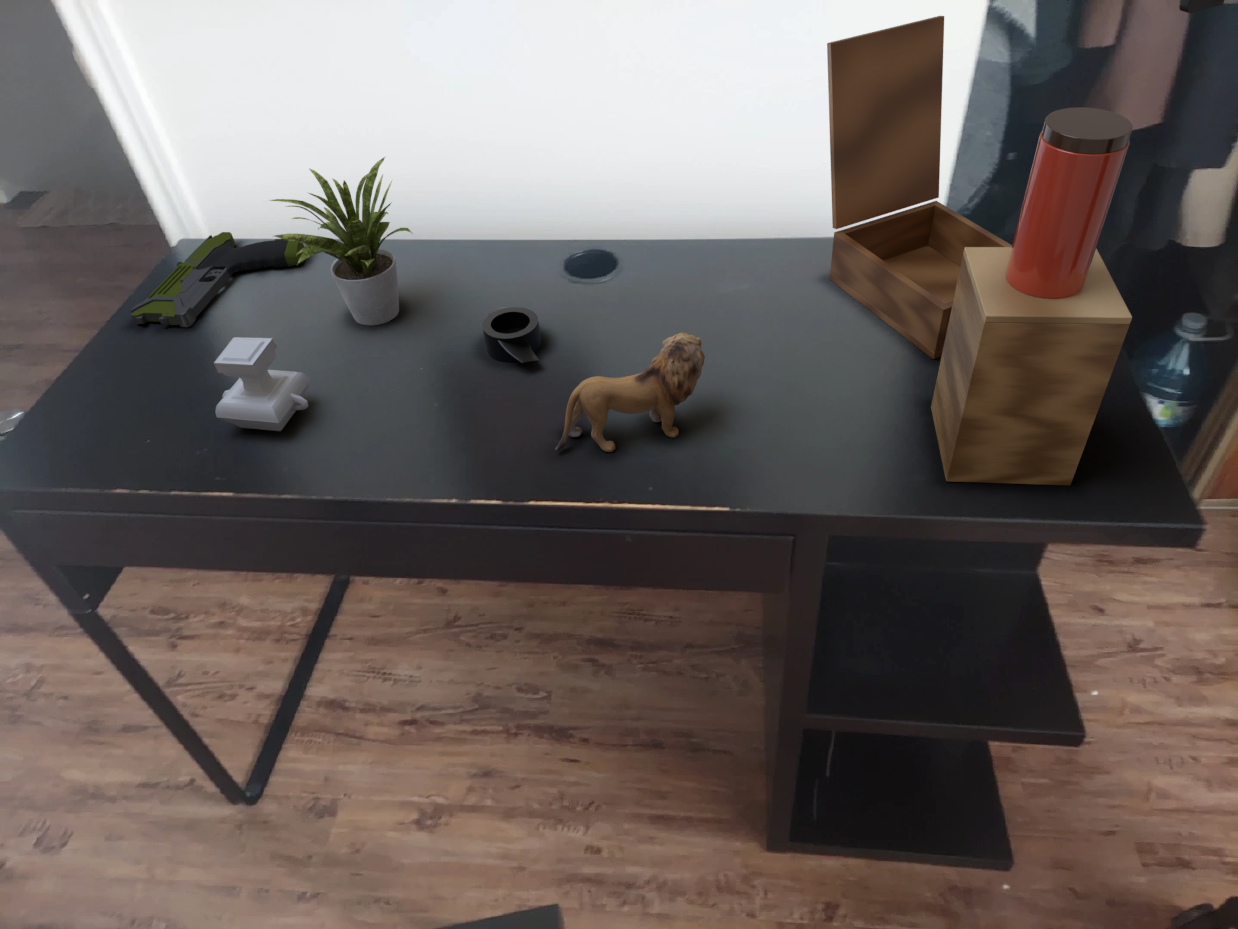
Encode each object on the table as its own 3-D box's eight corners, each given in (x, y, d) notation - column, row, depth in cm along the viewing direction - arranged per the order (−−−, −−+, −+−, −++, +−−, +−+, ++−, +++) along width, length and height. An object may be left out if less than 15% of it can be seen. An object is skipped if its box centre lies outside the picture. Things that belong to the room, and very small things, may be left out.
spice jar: (1098, 277, 69) (1150, 120, 61) (1059, 307, 67) (1108, 147, 58) (1030, 252, 72) (1070, 100, 64) (990, 280, 70) (1027, 125, 62)
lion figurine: (691, 394, 89) (690, 316, 82) (715, 426, 85) (716, 346, 79) (547, 438, 85) (535, 359, 79) (566, 473, 81) (554, 393, 75)
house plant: (352, 268, 111) (313, 137, 100) (457, 278, 108) (429, 143, 97) (291, 335, 101) (240, 197, 90) (405, 348, 98) (366, 206, 87)
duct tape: (465, 372, 94) (460, 348, 92) (491, 317, 101) (487, 295, 99) (538, 375, 92) (535, 352, 90) (559, 320, 100) (556, 297, 98)
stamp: (328, 400, 92) (303, 330, 86) (299, 443, 87) (270, 372, 81) (247, 394, 93) (217, 324, 88) (214, 436, 89) (180, 365, 83)
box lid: (944, 15, 92) (916, 14, 95) (830, 43, 88) (805, 40, 92) (939, 197, 102) (913, 190, 105) (836, 229, 98) (813, 220, 101)
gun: (248, 334, 102) (130, 330, 105) (318, 246, 115) (211, 245, 118) (240, 315, 100) (120, 312, 103) (311, 228, 114) (204, 227, 117)
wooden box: (1040, 320, 94) (1054, 270, 90) (933, 359, 90) (943, 309, 86) (927, 246, 106) (936, 200, 102) (829, 279, 102) (834, 232, 98)
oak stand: (1044, 410, 84) (1094, 253, 73) (1070, 485, 76) (1130, 324, 65) (930, 407, 85) (963, 253, 74) (945, 481, 78) (984, 322, 67)
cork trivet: (1094, 253, 73) (1096, 246, 72) (1130, 324, 65) (1132, 317, 65) (963, 253, 74) (964, 246, 74) (984, 322, 67) (986, 315, 66)
